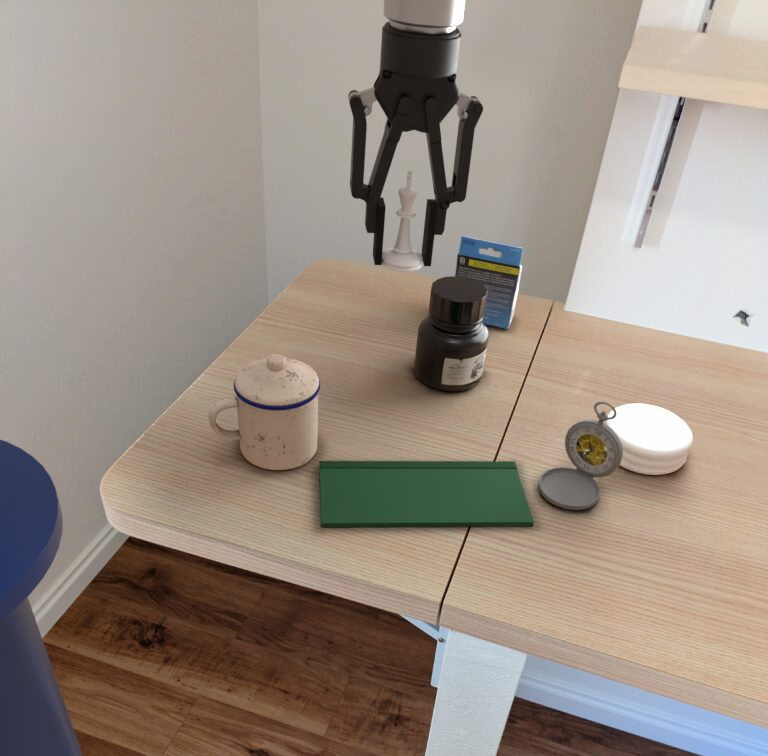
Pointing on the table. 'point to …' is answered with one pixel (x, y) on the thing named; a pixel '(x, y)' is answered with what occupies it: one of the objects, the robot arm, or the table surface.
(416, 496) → the green rectangular panel
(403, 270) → the chess piece
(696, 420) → the table surface
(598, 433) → the pocket watch
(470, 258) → the label tape box
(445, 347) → the ink bottle
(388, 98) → the robot arm
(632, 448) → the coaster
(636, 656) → the table surface
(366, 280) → the table surface
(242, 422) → the teacup with lid
